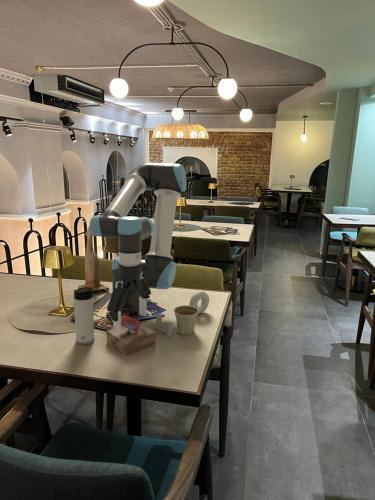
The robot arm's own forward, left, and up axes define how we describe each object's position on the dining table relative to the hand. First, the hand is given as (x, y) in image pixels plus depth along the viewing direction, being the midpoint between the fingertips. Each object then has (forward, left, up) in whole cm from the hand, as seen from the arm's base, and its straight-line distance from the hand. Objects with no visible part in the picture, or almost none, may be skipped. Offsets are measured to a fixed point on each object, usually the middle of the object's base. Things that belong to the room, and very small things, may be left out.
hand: (130, 321), depth 128 cm
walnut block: (0, 0, -9) cm, 9 cm away
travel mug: (-14, -8, -8) cm, 18 cm away
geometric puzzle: (0, 0, -4) cm, 4 cm away
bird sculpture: (-48, +29, -8) cm, 57 cm away
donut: (+7, +36, -8) cm, 38 cm away
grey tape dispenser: (+4, +14, -8) cm, 17 cm away
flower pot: (+11, +19, -8) cm, 24 cm away
